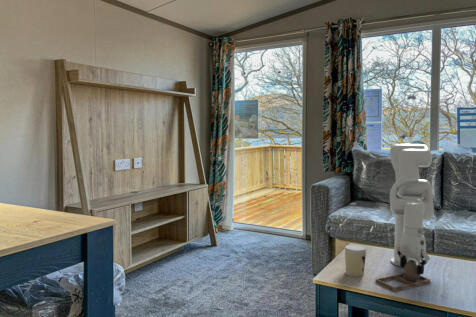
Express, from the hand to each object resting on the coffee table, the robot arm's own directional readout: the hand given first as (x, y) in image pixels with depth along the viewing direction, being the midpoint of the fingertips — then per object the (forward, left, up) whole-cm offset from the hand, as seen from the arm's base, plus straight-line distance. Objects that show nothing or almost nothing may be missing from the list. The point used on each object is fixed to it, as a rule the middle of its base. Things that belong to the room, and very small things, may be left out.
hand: (411, 270), depth 166 cm
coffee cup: (+16, -17, -5) cm, 24 cm away
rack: (+5, -1, -5) cm, 7 cm away
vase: (0, 0, -5) cm, 5 cm away
